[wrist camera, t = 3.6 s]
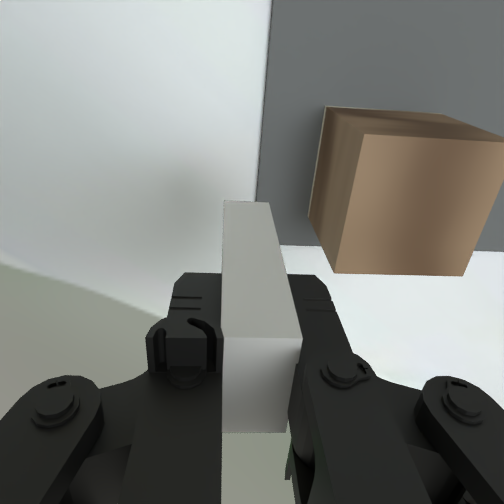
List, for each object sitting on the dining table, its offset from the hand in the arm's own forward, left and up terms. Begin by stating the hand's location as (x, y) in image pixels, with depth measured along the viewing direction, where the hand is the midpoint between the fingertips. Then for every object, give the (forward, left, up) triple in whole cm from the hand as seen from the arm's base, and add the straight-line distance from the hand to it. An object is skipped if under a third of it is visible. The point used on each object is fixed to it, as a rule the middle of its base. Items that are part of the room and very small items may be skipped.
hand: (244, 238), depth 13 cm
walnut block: (+7, 0, -8) cm, 11 cm away
